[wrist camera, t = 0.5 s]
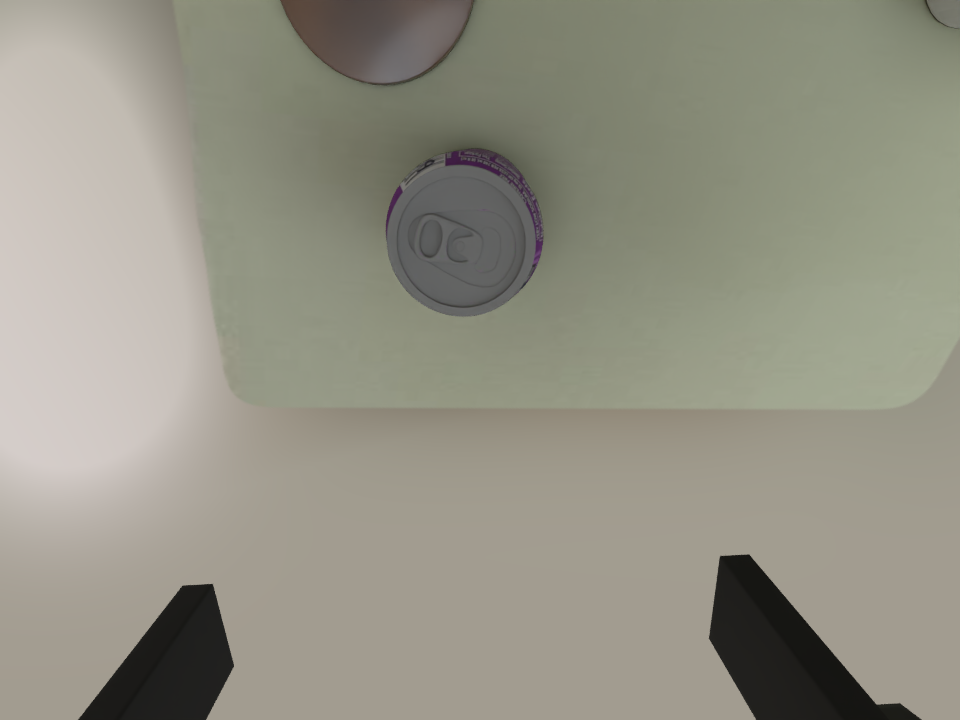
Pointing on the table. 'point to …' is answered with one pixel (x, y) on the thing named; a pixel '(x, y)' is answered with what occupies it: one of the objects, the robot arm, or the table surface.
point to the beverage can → (464, 232)
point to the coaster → (380, 35)
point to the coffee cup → (946, 11)
